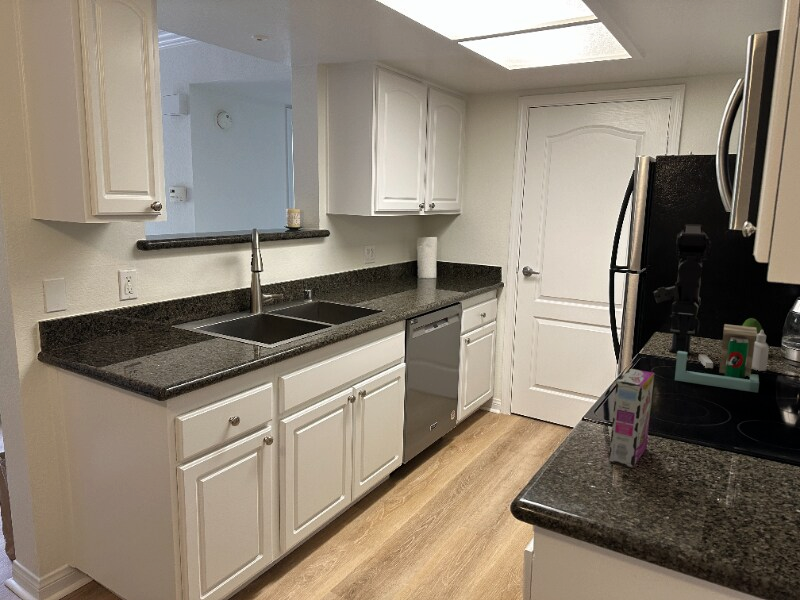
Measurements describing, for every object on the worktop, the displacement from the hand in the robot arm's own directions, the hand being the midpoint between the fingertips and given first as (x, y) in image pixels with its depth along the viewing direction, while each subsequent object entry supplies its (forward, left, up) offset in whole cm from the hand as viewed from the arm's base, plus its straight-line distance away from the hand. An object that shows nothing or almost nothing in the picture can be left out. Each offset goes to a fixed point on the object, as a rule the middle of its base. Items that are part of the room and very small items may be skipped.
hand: (683, 333), depth 163 cm
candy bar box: (+60, -4, -14) cm, 62 cm away
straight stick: (-23, +6, -14) cm, 27 cm away
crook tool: (-3, +9, -13) cm, 16 cm away
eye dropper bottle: (-25, +20, -14) cm, 34 cm away
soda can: (-10, +14, -14) cm, 22 cm away
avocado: (-45, +18, -14) cm, 50 cm away
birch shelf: (-11, +14, -13) cm, 22 cm away
